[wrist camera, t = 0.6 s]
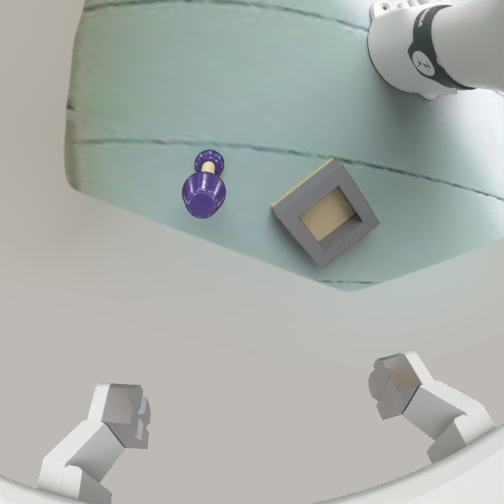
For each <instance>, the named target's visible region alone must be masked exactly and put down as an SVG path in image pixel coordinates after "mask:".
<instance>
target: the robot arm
mask: <svg viewBox="0 0 504 504" xmlns="http://www.w3.org/2000/svg"><path fill="white" fill-rule="evenodd" d="M383 7H384V8H385V10H384V9H383ZM370 13H371V19H372V23H371V27H370V30H369V34H368V47H369V52H370V56H371V59H372V61H373V63H374V65H375V67H376V69H377V70H378V72H379V73H380V74H381V76H382V77H383V78H384V79H385V80H386V81H387V82H388V83H389V84H391V85H392V86H394V87H395V88H397V89H399V90H402V91H405V92H411V93H418V94H420V95H421V96H423V97H424V98H426V99H428V100H434V99H436V98H437V97H438V96H439V94H456V93H457V91H458V90H473V89H476V88H481V89H488V90H495V91H501V92H504V0H473V1H470V2H467V3H463V4H459V5H454V4H453V3H451V2H450V1H448V0H445V1H442V0H387V1H383V2H378V3H374V4H372V5H371V7H370ZM374 368H375V370H374V371H373V372H372V373H371V374H370V377H369V390H370V392H371V395H372V397H373V398H375V399H376V400H378V403H377V408H378V411H379V413H380V415H381V417H382V419H383V420H384V419H388V418H391V417H395V416H398V415H401V414H403V415H402V416H404V417H405V418H406V419H408V420H409V421H410V422H411V423H413V424H414V425H415V426H417V427H418V428H419V429H420V430H422V431H423V432H425V433H426V434H427V435H429V436H430V437H431V438H432V439H434V440H435V442H434V443H433V445H432V446H431V447H430V448H429V449H428V451H427V453H428V456H429V458H430V460H431V462H432V464H431V465H429V466H426V467H424V468H422V469H420V470H417V471H415V472H413V473H410V474H408V475H405V476H403V477H401V478H398V479H395V480H392V481H390V482H387V483H384V484H381V485H378V486H376V487H372V488H369V489H366V490H363V491H360V492H356V493H353V494H349V495H346V496H342V497H338V498H335V499H331V500H326V501H322V502H318V503H312V504H504V423H503V424H502V425H500V426H499V427H497V428H496V427H495V425H494V423H493V421H492V420H491V418H490V417H489V415H488V413H487V412H486V410H485V408H484V407H483V405H482V404H481V403H479V402H477V401H475V400H474V399H472V398H470V397H468V396H466V395H464V394H462V393H461V392H459V391H457V390H455V389H453V388H451V387H449V386H448V385H446V384H444V383H442V382H440V381H438V380H433V378H432V377H431V375H430V374H429V372H428V370H427V369H426V367H425V366H424V364H423V363H422V361H421V360H420V358H419V357H418V355H417V354H416V352H415V351H413V350H411V351H407V352H404V353H399V354H395V355H391V356H387V357H383V358H379V359H377V360H376V361H375V363H374ZM142 394H143V390H142V388H141V386H140V385H127V384H111V383H98V385H97V386H96V389H95V393H94V396H93V400H92V403H91V407H90V411H89V415H88V419H87V421H86V420H83V421H82V422H81V423H80V424H79V425H78V426H77V427H76V428H75V429H74V430H73V431H72V432H71V433H70V434H69V435H68V436H66V438H64V440H62V441H61V442H60V443H59V444H58V445H57V446H56V447H55V448H54V449H53V450H52V451H51V452H50V453H49V454H48V455H47V456H46V457H44V460H43V464H42V468H41V473H40V477H39V482H38V487H37V489H36V488H32V487H30V486H27V485H24V484H22V483H19V482H16V481H14V480H11V479H9V478H6V477H4V476H2V475H0V504H111V496H112V494H111V492H110V491H109V490H108V489H106V488H105V487H104V486H102V485H101V484H100V481H101V480H102V479H103V478H104V476H105V475H106V474H107V472H108V471H109V470H110V468H111V467H112V465H113V464H114V463H115V462H116V460H117V459H118V458H119V456H120V455H121V454H122V452H123V451H124V450H125V448H142V449H144V448H145V449H147V445H148V436H149V433H148V431H147V429H146V428H145V427H146V426H147V425H148V424H149V423H150V406H149V402H148V400H147V398H146V397H144V396H142Z"/></svg>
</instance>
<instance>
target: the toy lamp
mask: <svg viewBox="0 0 504 504" xmlns="http://www.w3.org/2000/svg"><path fill="white" fill-rule="evenodd" d="M223 167H224V160H223V157H222V156H221V155H220V154H219V153H218V152H216V151H214V150H205V151H203V152H201V153H200V154H199V155H198V156H197V158H196V160H195V168H196V171H197V173H194V174H192V175H191V176H190V177H189V178H188V179H187V180H186V181H185V183H184V185H183V189H182V197H183V200H184V203H185V205H186V208H187V210H188V211H189V213H190V214H191V215H193V216H194V217H197V218H208V217H210V216H212V215H213V214H214V213H215V212H216V211H217V210H218V209H219V208H220V206H221V205H222V204H223V202H224V200H225V196H226V189H225V185H224V183H223V181H222V180H221V179H220V178H219V177H218V175H219V174H220V173H221V172H222V170H223Z"/></svg>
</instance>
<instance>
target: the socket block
mask: <svg viewBox="0 0 504 504" xmlns="http://www.w3.org/2000/svg"><path fill="white" fill-rule="evenodd" d="M271 206H272V208H273V211H274V213H275V215H276V217H277V218H278V219H279V220H280V221H281V222H282V223H283V225H284V226H285V227H286V228H287V229H288V230H289V232H290V233H291V234H292V235H293V236H294V237H295V239H296V240H297V241H298V242H299V243H300V244H301V246H302V247H303V248H304V249H305V250H306V251H307V253H308V254H309V255H310V256H311V257H312V259H313V260H314V261H315V262H316V263H317V265H318V266H319V267H320V268H321V269H322V268H323V267H324V266H326V265H327V264H328V263H330V262H331V261H332V260H334V259H335V258H336V257H338V256H339V255H340V254H342V253H343V252H344V251H346V250H347V249H348V248H350V247H351V246H352V245H353V244H355V243H356V242H357V241H359V240H360V239H361V238H362V237H364V236H365V235H366V234H368V233H369V232H370V231H371V230H373V229H374V228H375V227H376V226H378V225H379V224H380V223H379V221H378V219H377V217H376V216H375V214H374V213H373V211H372V209H371V208H370V206H369V204H368V203H367V201H366V199H365V198H364V196H363V195H362V193H361V192H360V190H359V188H358V187H357V185H356V184H355V182H354V181H353V179H352V178H351V176H350V175H349V173H348V172H347V170H346V169H345V167H344V166H343V164H341V163H340V162H338V161H336V160H335V159H333V158H331V159H329V160H328V161H327V162H325V163H324V164H323V165H322V166H320V167H319V168H318V169H316V170H315V171H314V172H313V173H311V174H310V175H309V176H307V177H306V178H305V179H304V180H302V181H301V182H300V183H299V184H297V185H296V186H295V187H293V188H292V189H291V190H290V191H288V192H287V193H286V194H285V195H283V196H282V197H281V198H280V199H278V200H277V201H276V202H275V203H273V204H272V205H271Z"/></svg>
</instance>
